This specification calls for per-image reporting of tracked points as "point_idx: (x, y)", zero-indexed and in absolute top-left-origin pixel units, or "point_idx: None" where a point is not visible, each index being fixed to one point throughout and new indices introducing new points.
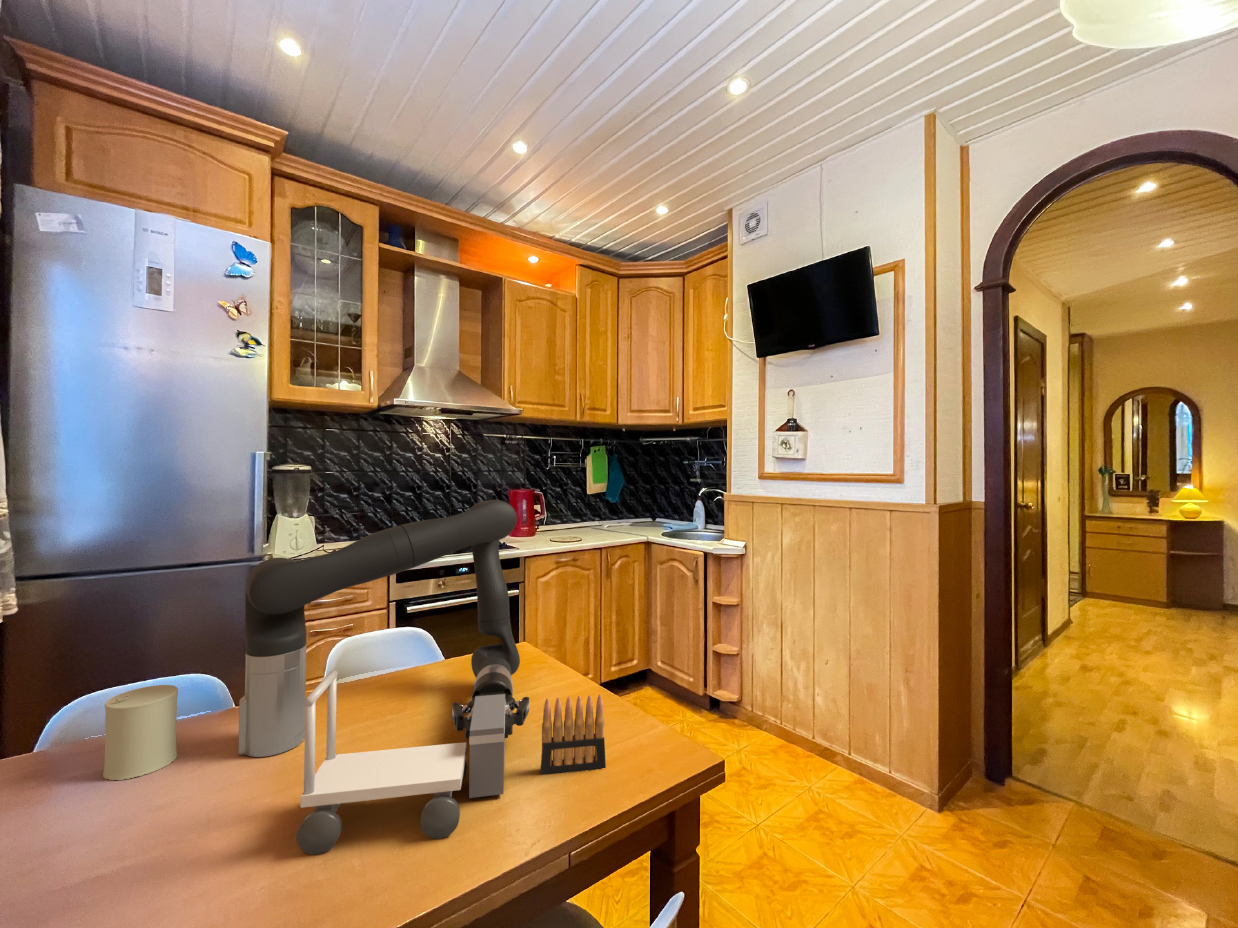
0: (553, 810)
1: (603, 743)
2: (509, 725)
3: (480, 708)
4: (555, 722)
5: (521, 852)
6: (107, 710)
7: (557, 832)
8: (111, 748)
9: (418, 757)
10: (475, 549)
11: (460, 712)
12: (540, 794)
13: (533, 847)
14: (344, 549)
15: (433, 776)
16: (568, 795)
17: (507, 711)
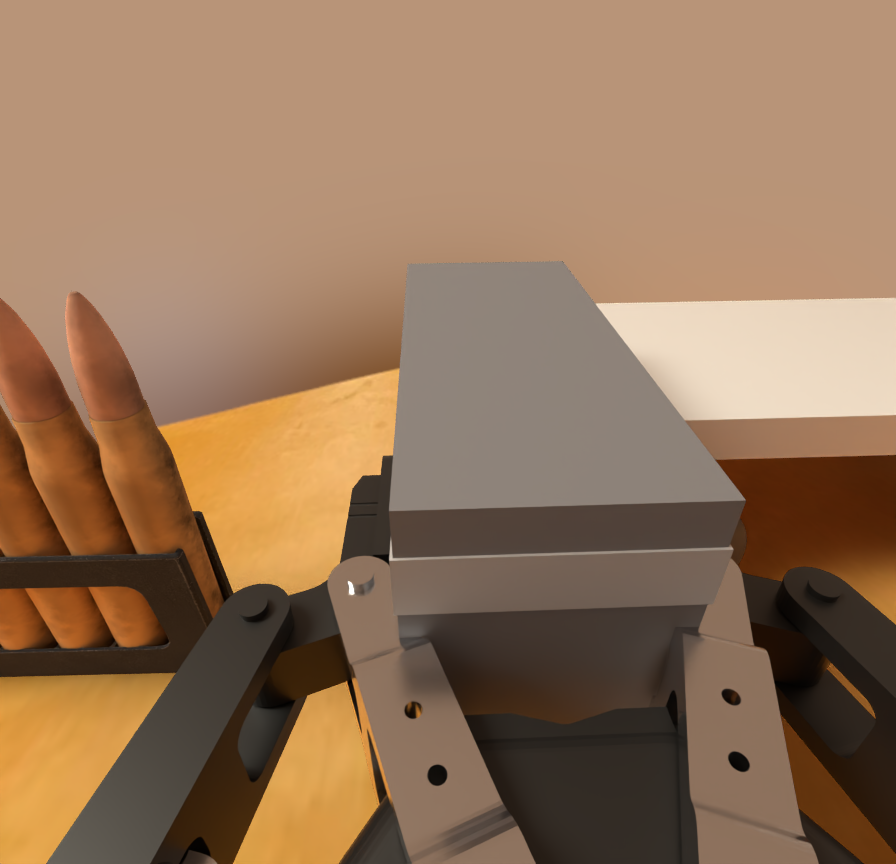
0: (270, 462)
1: None
2: (374, 484)
3: (581, 355)
4: (87, 431)
5: (378, 385)
6: None
7: (287, 411)
8: None
9: (765, 370)
10: None
11: (859, 641)
12: (287, 520)
13: (351, 391)
14: None
15: (633, 315)
16: (196, 506)
17: (376, 604)
